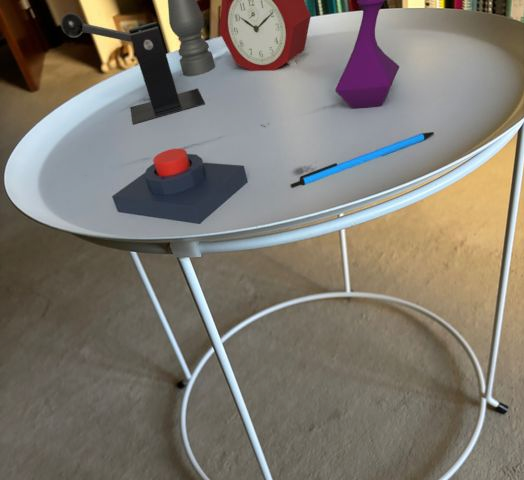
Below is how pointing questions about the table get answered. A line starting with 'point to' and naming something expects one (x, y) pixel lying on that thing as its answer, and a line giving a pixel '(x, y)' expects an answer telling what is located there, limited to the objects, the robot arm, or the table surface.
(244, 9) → the alarm clock
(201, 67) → the candle holder
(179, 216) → the button box
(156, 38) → the bracket
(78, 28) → the lever
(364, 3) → the purple vase
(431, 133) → the pen
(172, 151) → the button
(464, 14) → the table surface
